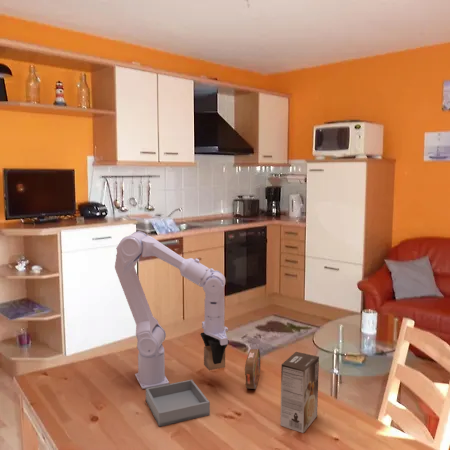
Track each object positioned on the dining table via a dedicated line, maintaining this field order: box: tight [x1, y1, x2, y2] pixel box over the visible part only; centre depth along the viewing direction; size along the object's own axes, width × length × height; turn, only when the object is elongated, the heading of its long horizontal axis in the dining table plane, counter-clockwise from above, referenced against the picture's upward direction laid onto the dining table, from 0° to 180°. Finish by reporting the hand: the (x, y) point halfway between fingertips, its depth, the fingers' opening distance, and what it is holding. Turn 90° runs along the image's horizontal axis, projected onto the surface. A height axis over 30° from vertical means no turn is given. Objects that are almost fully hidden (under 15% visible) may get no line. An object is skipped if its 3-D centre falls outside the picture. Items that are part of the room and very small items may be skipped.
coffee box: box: [280, 351, 320, 434], centre depth 111 cm, size 9×6×16 cm
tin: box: [244, 348, 261, 390], centre depth 131 cm, size 15×3×8 cm, turn 168°
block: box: [203, 345, 226, 371], centre depth 129 cm, size 4×5×6 cm
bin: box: [145, 379, 211, 428], centre depth 117 cm, size 13×13×4 cm
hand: (214, 359), depth 129 cm, fingers closed on block, 4 cm apart
